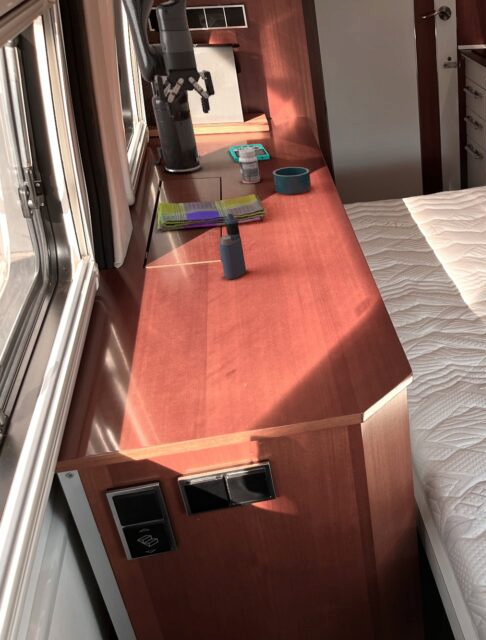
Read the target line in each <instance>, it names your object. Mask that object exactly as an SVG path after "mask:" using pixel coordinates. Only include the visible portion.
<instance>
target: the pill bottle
mask: <svg viewBox="0 0 486 640" xmlns="http://www.w3.org/2000/svg"><path fill="white" fill-rule="evenodd" d="M239 155H240V158H239V162H238V165H239V170H240V176H241V182H242V183H243V184H257V183H259V182H260V181H261V176H260V170H259V161H258V160H257V158H256V157H255V150H254V149H242V150H239Z"/></svg>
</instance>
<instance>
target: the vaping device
mask: <svg viewBox="0 0 486 640" xmlns="http://www.w3.org/2000/svg"><path fill="white" fill-rule="evenodd" d="M225 224H226V225H225V229H226V235H223V236H220V237H219V240H220V242H219V247H218V248H219V254H220V259H221V264H222V272H223V275H224V277H225V278H226V279H227V280H236V279H237V278H240V277H241V276H243V275H244V274H246V273H247V266H246V261H245V260H246V259H245V254H244V249H243V243H242V242H243V241H242V237H241V233H240V232H241V231H240V226H239V223H238V220H237V218H234V217H233V214H228V218H227V219H225Z"/></svg>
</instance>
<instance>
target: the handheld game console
mask: <svg viewBox="0 0 486 640" xmlns="http://www.w3.org/2000/svg"><path fill="white" fill-rule="evenodd" d="M242 149H254V150H255V157H256V158H257V161H264V160H271V158H270V157H271V156H270V154H269V153H268V152H267V150H266V148H265V147H264V146H263V145H262V143H251V144H244V145H243V144H242V145H241V144H240V145H234V146H229V152H230V154H231V156H232V158H233V160H234V161H235V163H239V158H240V155H239V150H242Z"/></svg>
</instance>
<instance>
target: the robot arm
mask: <svg viewBox="0 0 486 640" xmlns="http://www.w3.org/2000/svg"><path fill="white" fill-rule="evenodd" d="M121 2H122V5H123V8H124V12H125V15H126V19H127V22H128V27H129V31H130V37H131V41H132V45H133V50H134V54H135V58H136V62H137V66H138V69H139V72H140V75H141V77H142V78H143V80H144V81H146V82H147V83H154V87H155V93H156V94H154V95H153V96H152V98H151V103H152V108H153V114H154V117H155V123H156V127H157V132H158V137H159V142H160V147H156V150H157V155H158V160H155V159H153V160H152V163H153V164H155V165H161V163H162V160H163V163H164V168H165V172H166V173H170V174H178V175H179V174H180V175H181V174H190V173H194V172H197V171H200V170H201V169H202V166H201V162H200V160H201V155H200V154H199V151H198V146H197V141H196V135H195V129H194V125H193V119H192V114H191V109H190V108H191V107H190V103H189V92H192V91H195V92H196V93H197V94H198V95H199V96H200V102H201V108H202V112H203V114H209V113H210V112H209V111H211V107H210V100H209V99H210V97H211V96H214V95H215V94H216V92H215V88H214V87H215V86H214V83H213V78H212V75H211V72H210V70H209V71H208V70H206V69H203V70H202V71H198V67H197V61H196V55H195V54H196V53H195V48H194V47H195V46H194V43H193V37H192V33H191V31H190V26H189V23H188V16H187V0H168V1H165V2H162V3H159V4H158V5H156V6H155V14H156V20H157V25H158V30H159V41H160V43H153V44H150V43H149V38H148V23H149V18H150V14H151V11H152V9H153V5H154V3H155V0H121ZM200 78H201V79H202V80H203V81H204V86H205V90H204V88H203V87H202V86H201V85H200V84H199V80H200ZM166 82H168V85H167V86H166V88H164V85H165V84H166Z"/></svg>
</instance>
